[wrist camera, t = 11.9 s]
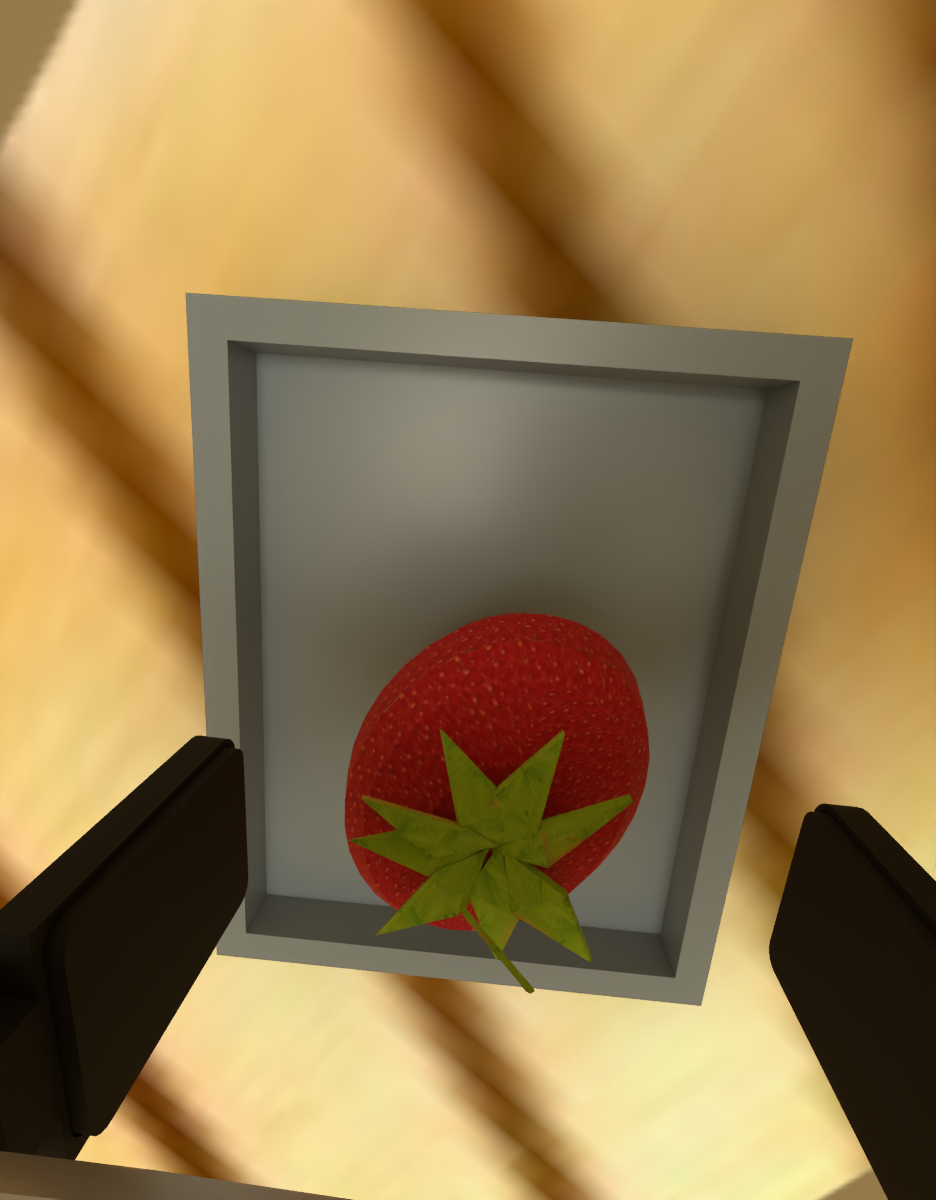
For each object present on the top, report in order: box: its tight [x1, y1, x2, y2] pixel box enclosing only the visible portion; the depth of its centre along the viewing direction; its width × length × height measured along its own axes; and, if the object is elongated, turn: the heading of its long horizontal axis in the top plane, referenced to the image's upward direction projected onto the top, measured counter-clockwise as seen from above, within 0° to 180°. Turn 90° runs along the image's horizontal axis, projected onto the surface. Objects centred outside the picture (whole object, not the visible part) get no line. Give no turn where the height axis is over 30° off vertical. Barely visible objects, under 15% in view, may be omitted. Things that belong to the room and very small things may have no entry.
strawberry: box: [345, 613, 650, 994], centre depth 12 cm, size 6×8×10 cm
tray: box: [186, 293, 853, 1006], centre depth 17 cm, size 16×20×2 cm
